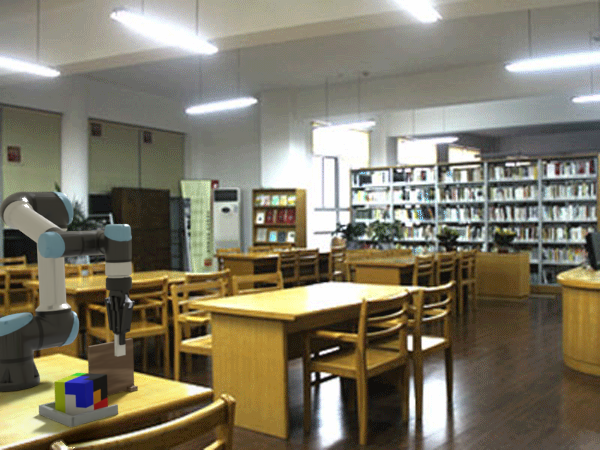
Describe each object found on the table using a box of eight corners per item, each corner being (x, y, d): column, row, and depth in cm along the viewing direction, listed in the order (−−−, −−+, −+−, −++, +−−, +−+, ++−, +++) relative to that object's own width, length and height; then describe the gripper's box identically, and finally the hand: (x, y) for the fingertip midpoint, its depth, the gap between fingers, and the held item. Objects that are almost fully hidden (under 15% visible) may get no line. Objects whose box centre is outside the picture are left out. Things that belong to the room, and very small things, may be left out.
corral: (39, 414, 174) (38, 405, 174) (85, 402, 184) (84, 393, 184) (70, 427, 162) (70, 417, 162) (118, 413, 172) (117, 404, 172)
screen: (85, 397, 189) (83, 345, 189) (128, 386, 200) (126, 337, 200) (95, 401, 185) (93, 347, 185) (138, 389, 196) (137, 339, 196)
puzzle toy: (86, 420, 168) (85, 383, 168) (55, 417, 171) (54, 381, 170) (108, 409, 177) (107, 374, 177) (78, 406, 180) (77, 372, 180)
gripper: (142, 276, 181) (143, 356, 182) (117, 273, 190) (119, 349, 191) (119, 279, 176) (121, 361, 177) (95, 275, 185) (97, 354, 185)
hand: (120, 355), depth 184 cm, fingers closed
